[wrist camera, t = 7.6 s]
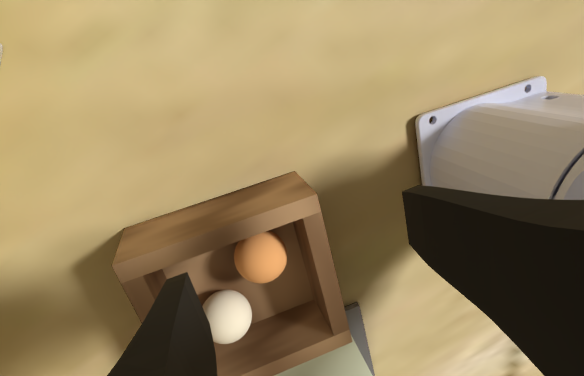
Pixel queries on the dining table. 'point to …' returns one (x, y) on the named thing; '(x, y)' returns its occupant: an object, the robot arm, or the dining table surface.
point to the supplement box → (0, 49)
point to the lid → (333, 364)
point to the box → (224, 276)
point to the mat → (359, 332)
